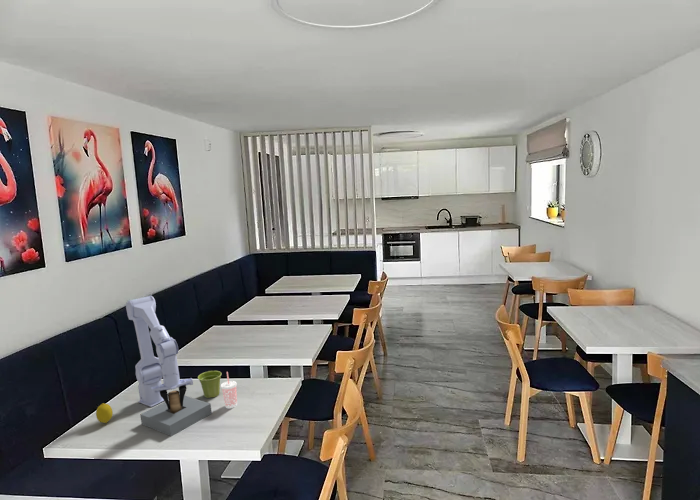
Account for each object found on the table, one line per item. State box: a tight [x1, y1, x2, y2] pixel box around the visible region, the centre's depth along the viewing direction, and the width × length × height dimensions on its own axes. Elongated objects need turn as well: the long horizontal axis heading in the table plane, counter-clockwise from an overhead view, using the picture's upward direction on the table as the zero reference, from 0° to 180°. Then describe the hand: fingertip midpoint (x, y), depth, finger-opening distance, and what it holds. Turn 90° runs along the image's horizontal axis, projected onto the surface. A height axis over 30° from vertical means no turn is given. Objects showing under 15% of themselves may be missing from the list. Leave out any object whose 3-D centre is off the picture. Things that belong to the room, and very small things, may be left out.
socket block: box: [140, 394, 213, 437], centre depth 183 cm, size 18×18×4 cm
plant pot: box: [197, 370, 222, 399], centre depth 201 cm, size 9×9×9 cm
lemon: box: [95, 402, 113, 424], centre depth 184 cm, size 6×6×8 cm
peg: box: [167, 389, 182, 414], centre depth 182 cm, size 4×4×8 cm
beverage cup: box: [220, 371, 238, 409], centre depth 190 cm, size 6×6×14 cm
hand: (175, 406), depth 182 cm, fingers closed on peg, 4 cm apart
